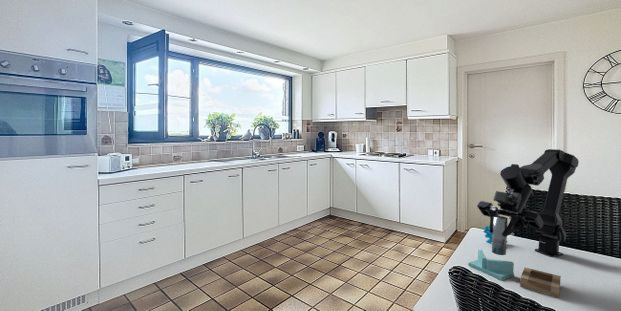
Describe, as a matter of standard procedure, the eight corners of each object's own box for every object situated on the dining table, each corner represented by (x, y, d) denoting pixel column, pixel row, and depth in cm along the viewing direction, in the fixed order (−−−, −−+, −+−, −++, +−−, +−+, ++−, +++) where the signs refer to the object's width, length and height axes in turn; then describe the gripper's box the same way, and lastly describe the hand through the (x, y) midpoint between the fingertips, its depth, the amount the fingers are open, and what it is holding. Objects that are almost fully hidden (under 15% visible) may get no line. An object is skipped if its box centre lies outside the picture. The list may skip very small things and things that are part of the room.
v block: (479, 261, 107) (480, 249, 107) (515, 276, 96) (515, 262, 96) (467, 265, 104) (467, 252, 104) (502, 281, 93) (503, 266, 93)
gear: (493, 246, 118) (481, 223, 124) (483, 252, 122) (472, 230, 128) (515, 247, 120) (502, 225, 127) (504, 253, 124) (493, 231, 131)
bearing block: (524, 276, 96) (524, 267, 96) (560, 285, 90) (560, 276, 90) (520, 286, 90) (520, 277, 90) (558, 297, 84) (559, 287, 83)
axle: (501, 250, 100) (502, 215, 99) (508, 255, 96) (510, 219, 95) (489, 250, 101) (490, 215, 100) (496, 255, 97) (497, 219, 96)
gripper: (481, 178, 107) (460, 213, 102) (540, 187, 90) (519, 228, 86) (493, 197, 111) (474, 231, 107) (552, 208, 95) (532, 249, 90)
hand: (497, 234), depth 97 cm, fingers closed on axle, 4 cm apart
